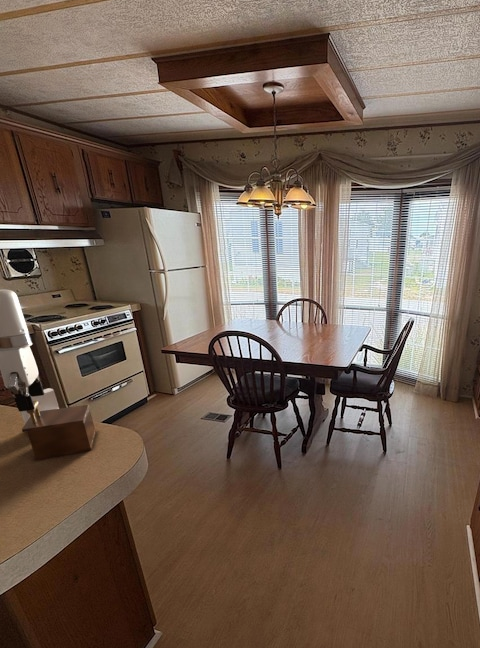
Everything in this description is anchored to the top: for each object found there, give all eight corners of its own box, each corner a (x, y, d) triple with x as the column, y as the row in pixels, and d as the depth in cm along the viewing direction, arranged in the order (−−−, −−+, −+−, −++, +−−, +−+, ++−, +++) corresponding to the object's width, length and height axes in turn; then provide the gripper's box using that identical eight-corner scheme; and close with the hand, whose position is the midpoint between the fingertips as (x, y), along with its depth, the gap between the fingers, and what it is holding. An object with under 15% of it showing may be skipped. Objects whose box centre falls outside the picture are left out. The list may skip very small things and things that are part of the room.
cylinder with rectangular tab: (54, 419, 113) (44, 386, 108) (70, 426, 109) (60, 392, 105) (22, 431, 105) (9, 395, 101) (37, 439, 102) (25, 402, 97)
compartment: (36, 459, 92) (26, 431, 89) (45, 440, 101) (37, 414, 98) (91, 449, 98) (83, 422, 94) (95, 432, 106) (89, 407, 103)
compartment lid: (22, 432, 89) (16, 414, 87) (33, 414, 97) (28, 398, 95) (83, 422, 94) (79, 405, 92) (89, 406, 103) (85, 391, 101)
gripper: (4, 334, 91) (24, 392, 97) (-23, 352, 76) (3, 419, 83) (39, 331, 94) (56, 388, 100) (19, 348, 79) (41, 413, 86)
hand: (32, 402), depth 92 cm, fingers open, 9 cm apart
